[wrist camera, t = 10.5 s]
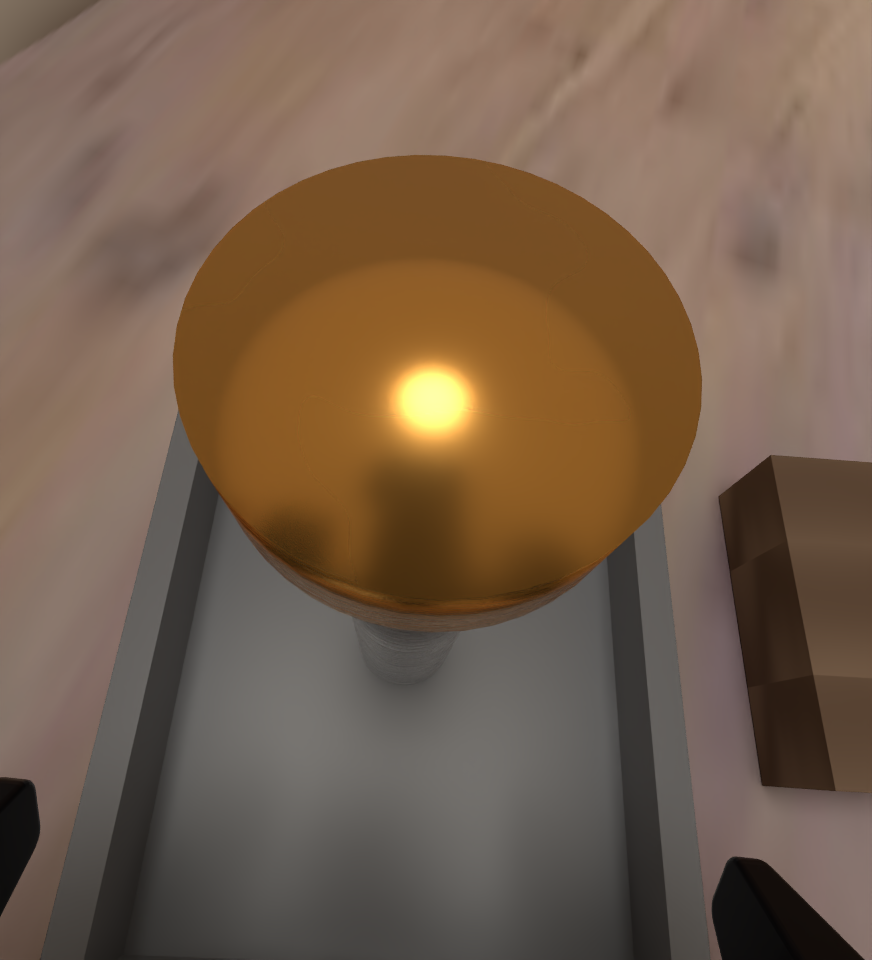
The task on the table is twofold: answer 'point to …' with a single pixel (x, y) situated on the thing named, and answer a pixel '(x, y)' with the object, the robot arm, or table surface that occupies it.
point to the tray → (379, 772)
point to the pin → (435, 394)
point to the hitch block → (805, 617)
